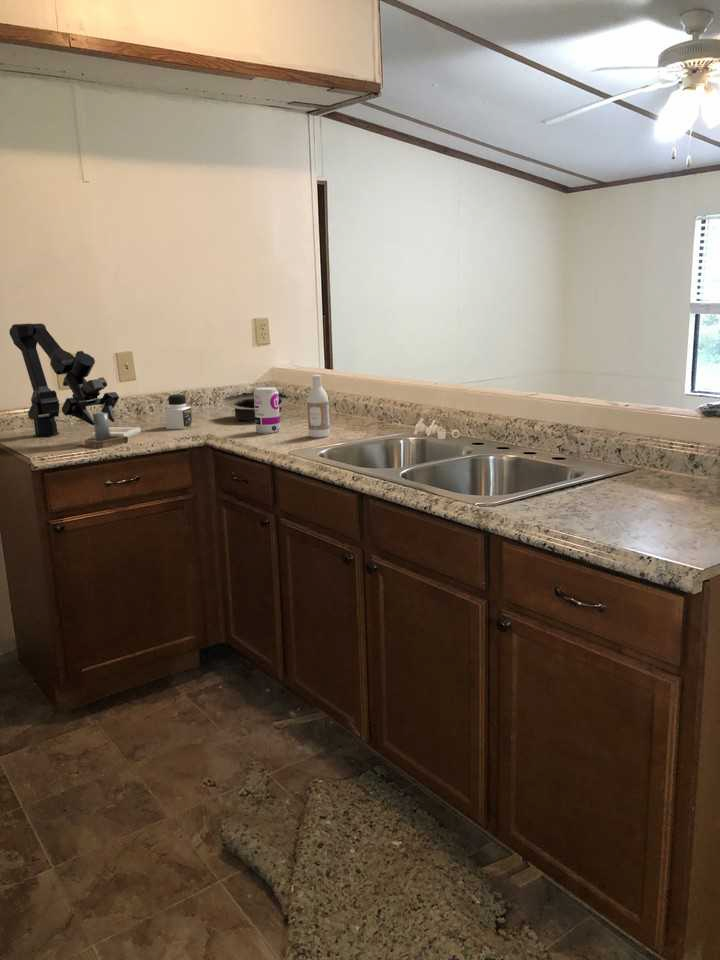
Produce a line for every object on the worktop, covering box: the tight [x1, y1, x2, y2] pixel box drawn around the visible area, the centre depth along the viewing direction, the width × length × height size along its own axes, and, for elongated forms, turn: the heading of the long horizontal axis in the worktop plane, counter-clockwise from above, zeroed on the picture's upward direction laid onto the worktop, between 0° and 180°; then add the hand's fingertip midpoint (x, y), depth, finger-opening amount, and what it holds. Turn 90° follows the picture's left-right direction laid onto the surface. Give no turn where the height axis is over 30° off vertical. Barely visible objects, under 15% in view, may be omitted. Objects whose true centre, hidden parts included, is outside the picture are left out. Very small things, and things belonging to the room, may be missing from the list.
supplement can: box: [253, 386, 281, 435], centre depth 267 cm, size 8×8×15 cm
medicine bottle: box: [164, 393, 193, 430], centre depth 281 cm, size 7×7×12 cm
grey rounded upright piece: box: [92, 412, 110, 441], centre depth 253 cm, size 6×6×10 cm
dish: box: [90, 426, 142, 440], centre depth 268 cm, size 12×12×2 cm
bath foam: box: [306, 374, 330, 439], centre depth 255 cm, size 7×7×20 cm
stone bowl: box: [223, 391, 290, 423], centre depth 297 cm, size 25×25×9 cm
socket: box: [84, 435, 129, 449], centre depth 253 cm, size 8×11×2 cm
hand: (103, 422), depth 252 cm, fingers open, 7 cm apart
